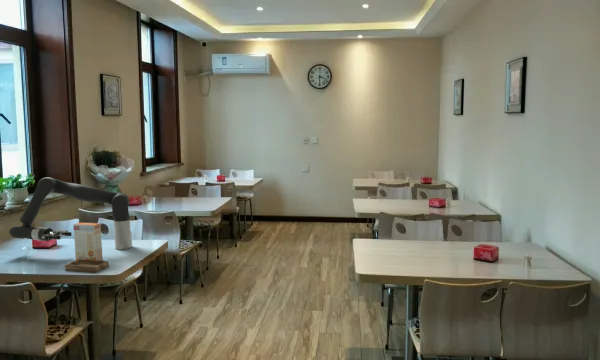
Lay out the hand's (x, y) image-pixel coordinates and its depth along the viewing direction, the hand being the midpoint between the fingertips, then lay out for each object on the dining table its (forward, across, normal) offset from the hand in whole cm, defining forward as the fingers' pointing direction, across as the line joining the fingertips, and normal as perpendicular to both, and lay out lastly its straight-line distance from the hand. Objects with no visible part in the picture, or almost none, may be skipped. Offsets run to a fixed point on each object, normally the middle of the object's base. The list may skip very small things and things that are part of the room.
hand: (65, 235), depth 284 cm
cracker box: (+15, 0, +13) cm, 20 cm away
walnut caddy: (+25, -14, +13) cm, 31 cm away
